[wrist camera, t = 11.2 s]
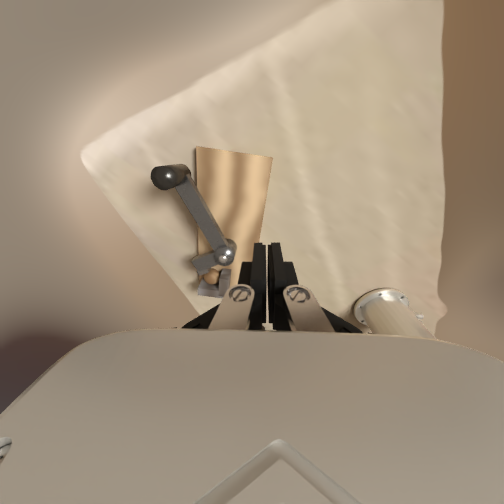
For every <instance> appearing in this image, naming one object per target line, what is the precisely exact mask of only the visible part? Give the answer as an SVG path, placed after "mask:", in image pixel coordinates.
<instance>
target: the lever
mask: <svg viewBox="0 0 504 504" xmlns="http://www.w3.org/2000/svg"><path fill="white" fill-rule="evenodd" d="M151 180H152V182H153V184H154V185H155V186H156V187H157V188H159V189H161V190H168V189H171V188H174V187H175V188H176V190H177V192H178V193H179V195H180V196H181V198H182V200H183V201H184V203H185V205H186V206H187V208H188V209H189V211H190V213H191V214H192V216H193V218H194V219H195V221H196V222H197V224H198V226H199V227H200V229H201V231H202V232H203V234H204V236H205V237H206V239H207V240H208V242H209V244H210V245H211V247H212V249H213V250H212V251H209V252H207V253H204V254H202V255H199V256H197V257H194V258H193V259H192V261H191V262H192V263H193V265H194V266H195V268H196V269H197V273H198V274H199V276H200V275H203V274H206V273H208V272H209V271H210V269H211V267H213V266H216V265H221V266H229V265H231V264H232V263H233V261H234V257H235V254H236V250H237V245H236V243H235V242H234V241H233V240H231V239H226V238H225V237H224V235H223V233H222V231H221V229H220V228H219V226H218V224H217V222H216V220H215V219H214V217H213V215H212V213H211V212H210V210H209V208H208V206H207V204H206V203H205V201H204V199H203V197H202V195H201V194H200V192H199V190H198V188H197V187H196V185H195V183H194V181H193V179H192V178H191V172H190V170H189V168H188V167H187V166H186V165H183V164H176V165H167V166H158V167H155V168H154V169H153V170H152V172H151Z"/></svg>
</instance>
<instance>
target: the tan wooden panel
mask: <svg viewBox="0 0 504 504" xmlns="http://www.w3.org/2000/svg"><path fill="white" fill-rule="evenodd" d="M272 160H273V158H272V157H265V156H258V155H252V154H245V153H238V152H231V151H225V150H218V149H211V148H204V147H197V146H196V161H197V188H198V190H199V192H200V194H201V195H202V197H203V199H204V201H205V203H206V204H207V206H208V208H209V210H210V212H211V213H212V215H213V217H214V219H215V220H216V222H217V224H218V226H219V228H220V229H221V231H222V233H223V235H224V237H225V238H226V239H231V240H233V241H234V242H235V243H236V245H237V250H236V254H235V257H234V261H233V263H232V264H231V265H229V266H221V265H216V266H213V267H211V268H213V269H216V270H217V271H218V272H219V273H220V278H219V281H218V282H217V283H215V284H208V283H207V282H206V281H205V280H204V274H203V275H200V276H199V287H198V295H202V296H209V297H217V298H223V297H224V295H225V293H226V291H227V290H228V289H229V288H230V287H232V286H234V285H237V284H238V279H239V274H240V269H241V264H242V262H252V259H253V249H254V243H259V239H260V233H261V227H262V220H263V214H264V208H265V202H266V196H267V190H268V184H269V178H270V172H271V166H272ZM212 250H213V249H212V247H211V245H210V244H209V242H208V240H207V239H206V237H205V236H204V234H203V232H202V231H201V229H200V227H199V226H198V256H199V255H202V254H204V253H207V252H209V251H212Z"/></svg>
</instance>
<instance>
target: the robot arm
mask: <svg viewBox="0 0 504 504" xmlns="http://www.w3.org/2000/svg"><path fill="white" fill-rule="evenodd" d="M267 282H268V310H269V323H273V330H277V331H269V330H260V329H262V323H266V245H262V243H254V249H253V259H252V262H242V264H241V269H240V274H239V279H238V284H237V285H234V286H232V287H230V288H229V289H228V290H227V291H226V293H225V295H224V297H223V299H222V301H221V303H220V304H219V305H217V306H215V307H214V308H212V309H210V310H209V311H207V312H205V313H204V314H202V315H200V316H198V317H197V318H195V319H194V320H192V321H190V322H188V323H187V324H186V325H184V326H183V327H182V328H180V329H179V328H177V327H174V328H158V329H135V330H126V331H120V332H115V333H111V334H108V335H104V336H100V337H98V338H95V339H92V340H90V341H87V342H85V343H83V344H81V345H79V346H77V347H75V348H74V349H72V350H71V351H70V352H68V353H67V354H65V356H63V357H62V358H60V359H59V360H58V361H57V362H56V363H54V364H53V365H52V366H51V367H50V368H49V369H48V370H46V371H45V372H44V373H43V374H42V375H41V376H40V377H39V378H38V379H37V380H36V381H34V382H33V383H32V384H31V385H30V386H29V387H28V388H27V389H26V390H25V391H24V392H23V393H22V394H21V395H20V396H19V397H18V398H17V399H16V400H15V401H14V402H13V403H12V404H11V405H10V406H9V407H8V408H7V409H6V410H5V411H4V412H3V413H2V414H0V504H504V362H502V361H500V360H498V359H496V358H494V357H491V356H489V355H487V354H485V353H482V352H479V351H476V350H474V349H470V348H467V347H464V346H461V345H457V344H454V343H450V342H446V341H441V340H437V339H436V338H435V337H434V335H433V334H432V333H431V332H430V331H429V330H428V329H427V328H426V327H425V326H424V325H423V322H422V321H421V320H418V319H423V314H421V313H414V312H413V311H412V310H411V309H410V308H409V300H408V298H407V297H406V296H405V295H404V294H403V293H402V292H401V291H399V290H396V289H391V288H383V289H377V290H374V291H371V292H369V293H367V294H365V295H364V296H362V297H361V298H360V299H359V300H358V301H357V303H356V304H355V306H354V315H355V317H356V319H357V320H358V321H359V322H360V323H362V324H364V325H367V326H369V328H370V330H371V331H372V333H369V332H368V334H364V333H363V332H362V331H360V330H359V329H358V328H356V327H355V326H353V325H351V324H349V323H348V322H346V321H344V320H343V319H341V318H339V317H338V316H336V315H334V314H333V313H331V312H329V311H327V310H326V309H324V308H322V307H321V306H320V305H319V303H318V301H317V300H316V298H315V296H314V294H313V293H312V292H311V290H309V289H308V288H306V287H304V286H301V285H299V284H298V280H297V276H296V273H295V269H294V266H293V262H283V257H282V252H281V247H280V243H271V245H268V277H267Z"/></svg>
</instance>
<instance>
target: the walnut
mask: <svg viewBox="0 0 504 504" xmlns="http://www.w3.org/2000/svg"><path fill="white" fill-rule="evenodd" d="M219 278H220V273H219V272H218V271H217V270H216V269H213V268H211V269H210V271H209V272H208V273H206V274H204V280H205V281H206V282H207V283H208V284H215V283H217V282H218V281H219Z"/></svg>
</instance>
